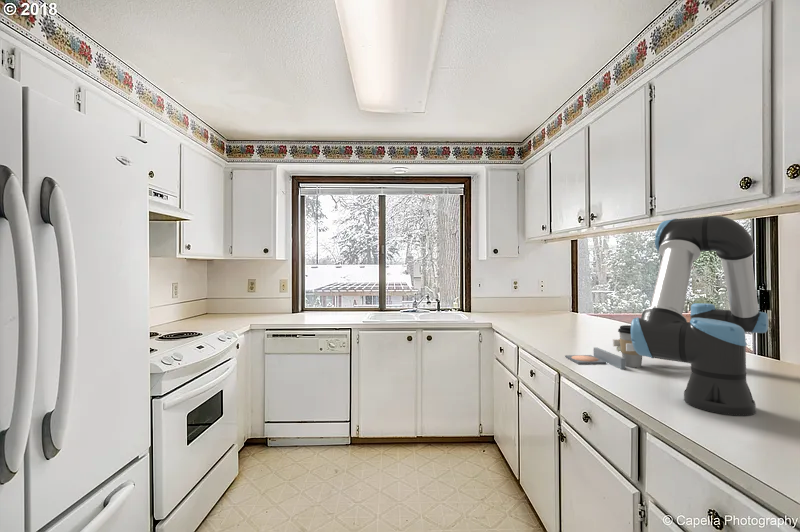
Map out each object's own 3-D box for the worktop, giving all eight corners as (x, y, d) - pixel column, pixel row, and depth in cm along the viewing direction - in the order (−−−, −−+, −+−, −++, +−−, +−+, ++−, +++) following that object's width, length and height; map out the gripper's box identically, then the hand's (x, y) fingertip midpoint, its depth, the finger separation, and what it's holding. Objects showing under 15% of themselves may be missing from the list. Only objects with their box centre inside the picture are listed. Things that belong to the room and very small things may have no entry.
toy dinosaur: (616, 354, 173) (633, 356, 170) (616, 346, 173) (633, 348, 170) (615, 343, 192) (630, 345, 189) (615, 337, 192) (631, 338, 189)
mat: (606, 364, 151) (606, 361, 151) (578, 364, 151) (578, 362, 151) (590, 356, 163) (590, 354, 163) (565, 357, 163) (564, 355, 163)
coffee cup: (623, 361, 155) (623, 324, 155) (650, 365, 148) (650, 326, 148) (614, 365, 149) (613, 326, 149) (641, 370, 142) (641, 329, 142)
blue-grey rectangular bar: (625, 369, 143) (625, 358, 143) (621, 369, 143) (621, 358, 143) (597, 356, 163) (597, 347, 163) (593, 356, 163) (593, 347, 163)
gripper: (699, 360, 138) (636, 361, 138) (659, 348, 159) (605, 349, 159) (699, 339, 138) (636, 340, 138) (659, 330, 159) (604, 330, 159)
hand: (619, 345), depth 149 cm, fingers closed on coffee cup, 8 cm apart
